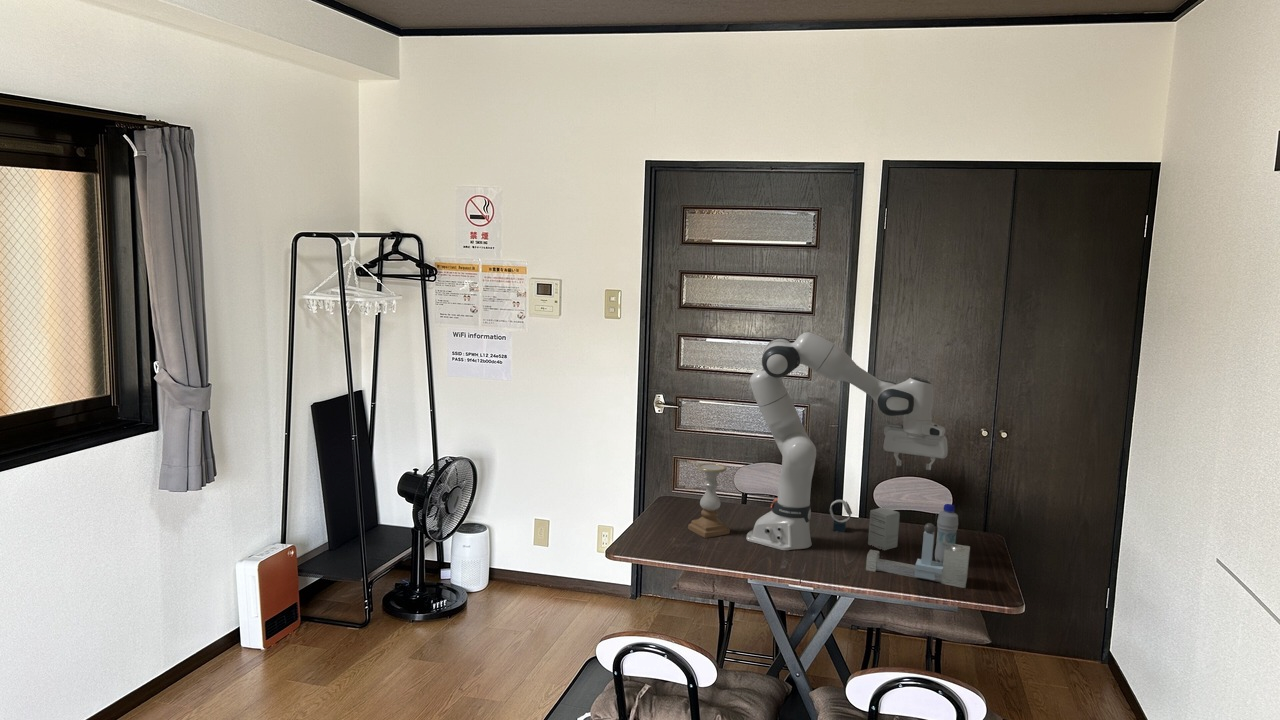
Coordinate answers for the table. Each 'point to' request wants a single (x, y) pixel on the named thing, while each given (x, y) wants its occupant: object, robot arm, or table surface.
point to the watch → (840, 523)
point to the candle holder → (709, 505)
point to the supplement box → (883, 528)
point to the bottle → (945, 530)
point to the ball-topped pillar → (928, 556)
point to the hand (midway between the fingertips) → (913, 467)
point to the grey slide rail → (951, 574)
